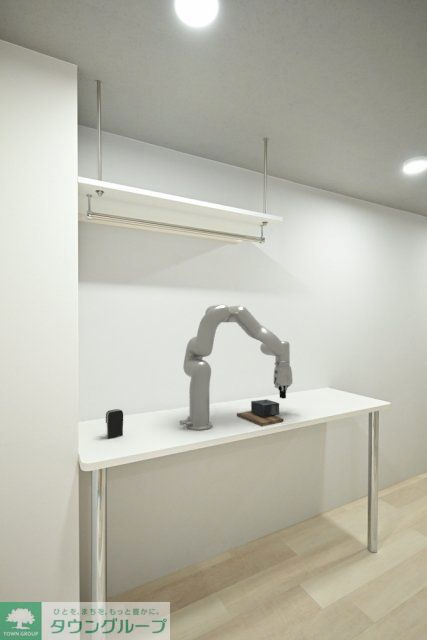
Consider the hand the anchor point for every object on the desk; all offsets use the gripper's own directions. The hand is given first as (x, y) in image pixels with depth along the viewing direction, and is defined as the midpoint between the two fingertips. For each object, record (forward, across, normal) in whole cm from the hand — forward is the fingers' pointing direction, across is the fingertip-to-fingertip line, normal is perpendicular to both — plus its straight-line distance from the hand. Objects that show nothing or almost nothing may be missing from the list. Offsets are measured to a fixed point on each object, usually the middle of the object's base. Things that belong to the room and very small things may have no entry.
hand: (282, 397), depth 174 cm
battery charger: (+8, -86, +14) cm, 88 cm away
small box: (+4, -7, 0) cm, 8 cm away
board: (+9, -16, 0) cm, 19 cm away
